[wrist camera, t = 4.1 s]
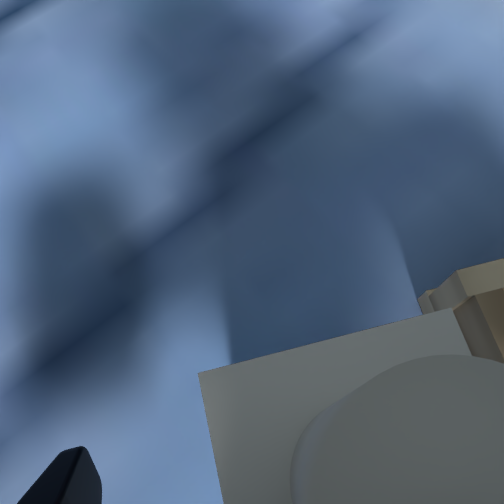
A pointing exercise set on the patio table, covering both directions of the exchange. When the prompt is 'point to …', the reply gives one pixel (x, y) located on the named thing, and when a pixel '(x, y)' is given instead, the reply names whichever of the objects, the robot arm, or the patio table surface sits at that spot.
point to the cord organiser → (474, 306)
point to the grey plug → (361, 420)
